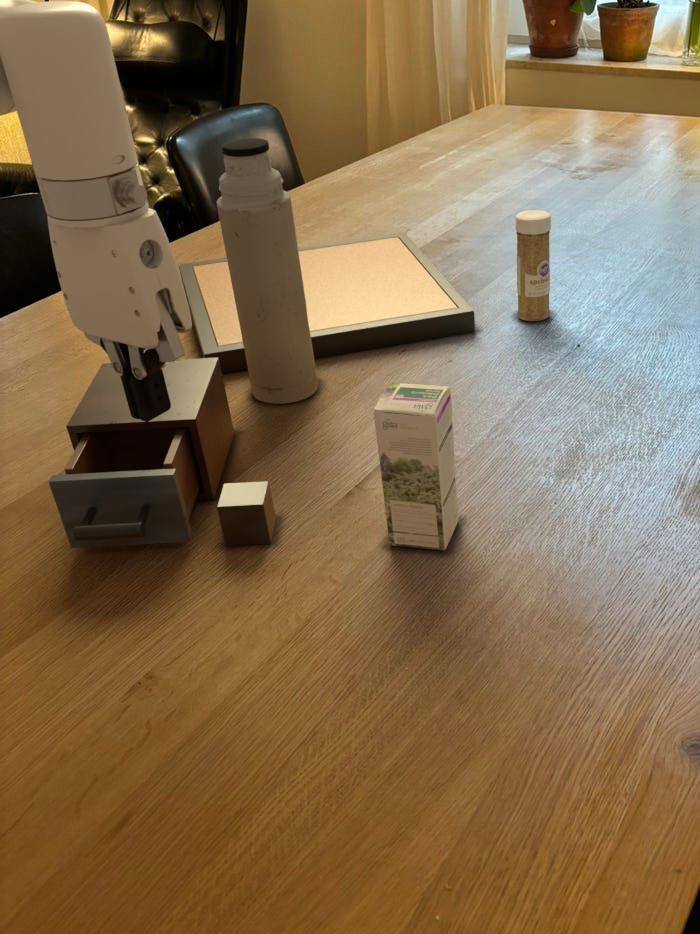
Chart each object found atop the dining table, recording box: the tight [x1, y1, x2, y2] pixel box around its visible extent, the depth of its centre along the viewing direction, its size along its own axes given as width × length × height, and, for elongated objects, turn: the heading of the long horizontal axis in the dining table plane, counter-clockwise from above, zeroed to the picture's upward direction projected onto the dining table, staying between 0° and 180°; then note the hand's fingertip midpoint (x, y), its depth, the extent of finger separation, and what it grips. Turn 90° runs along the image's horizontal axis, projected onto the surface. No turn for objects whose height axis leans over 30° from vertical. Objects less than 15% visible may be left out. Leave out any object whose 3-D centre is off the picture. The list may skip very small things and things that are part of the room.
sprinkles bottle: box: [515, 209, 552, 322], centre depth 136 cm, size 5×5×13 cm
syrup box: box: [373, 382, 460, 551], centre depth 95 cm, size 6×6×14 cm
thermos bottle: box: [216, 137, 319, 405], centre depth 117 cm, size 8×8×28 cm
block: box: [216, 480, 277, 547], centre depth 99 cm, size 4×4×4 cm
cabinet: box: [65, 357, 235, 501], centre depth 108 cm, size 15×13×9 cm
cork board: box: [177, 232, 476, 375], centre depth 145 cm, size 36×3×35 cm
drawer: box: [48, 427, 202, 549], centre depth 99 cm, size 18×11×7 cm, turn 2°
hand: (152, 413), depth 90 cm, fingers closed
